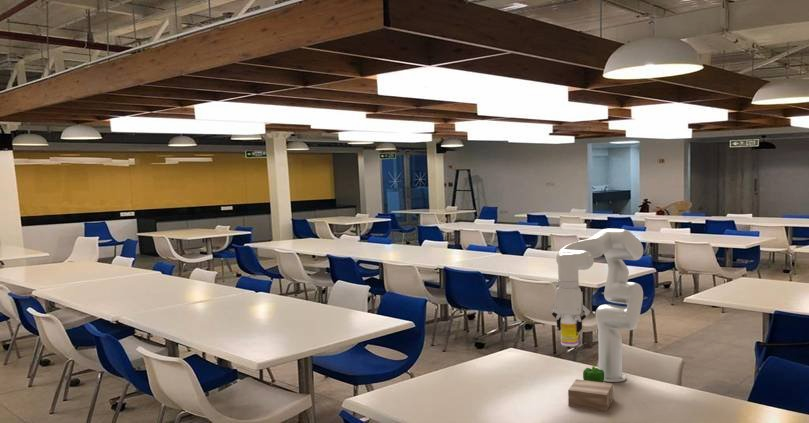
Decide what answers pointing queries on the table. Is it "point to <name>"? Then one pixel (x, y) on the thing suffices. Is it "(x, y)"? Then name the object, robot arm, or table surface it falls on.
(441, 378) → the table surface
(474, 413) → the table surface
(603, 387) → the walnut block
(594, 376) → the bell pepper
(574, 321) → the supplement bottle
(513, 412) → the table surface
